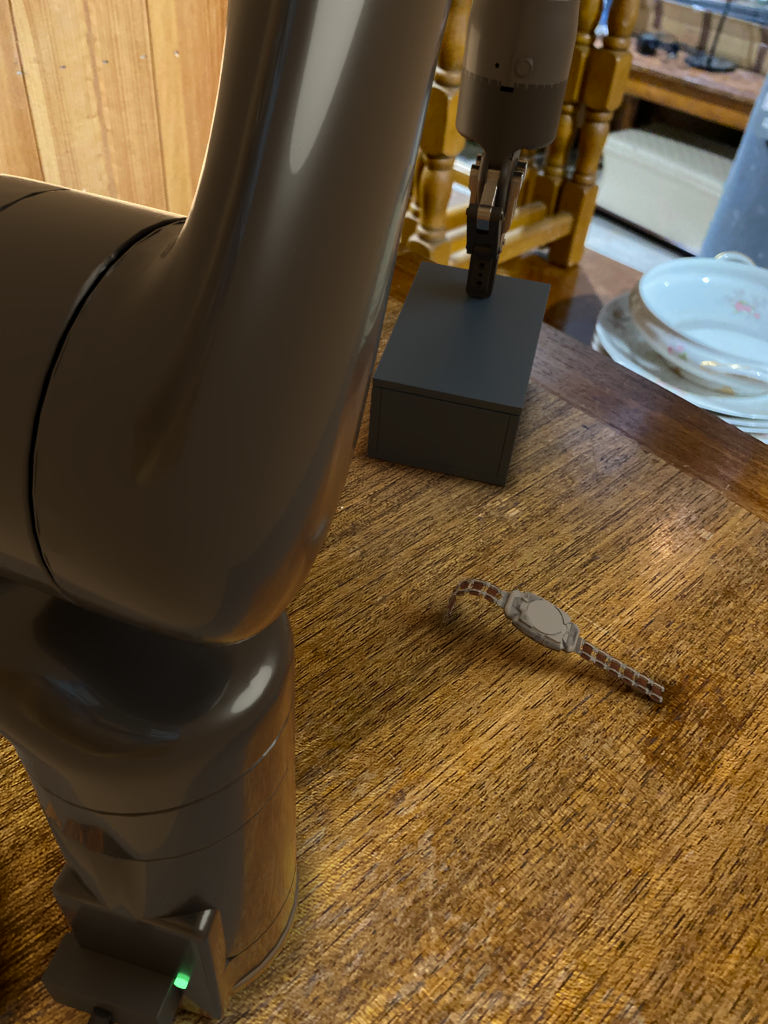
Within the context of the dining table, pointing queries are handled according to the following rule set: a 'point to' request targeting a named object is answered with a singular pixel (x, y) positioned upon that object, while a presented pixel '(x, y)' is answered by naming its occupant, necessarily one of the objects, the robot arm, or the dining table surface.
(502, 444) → the chest
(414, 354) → the lid
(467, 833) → the dining table surface
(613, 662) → the wristwatch
